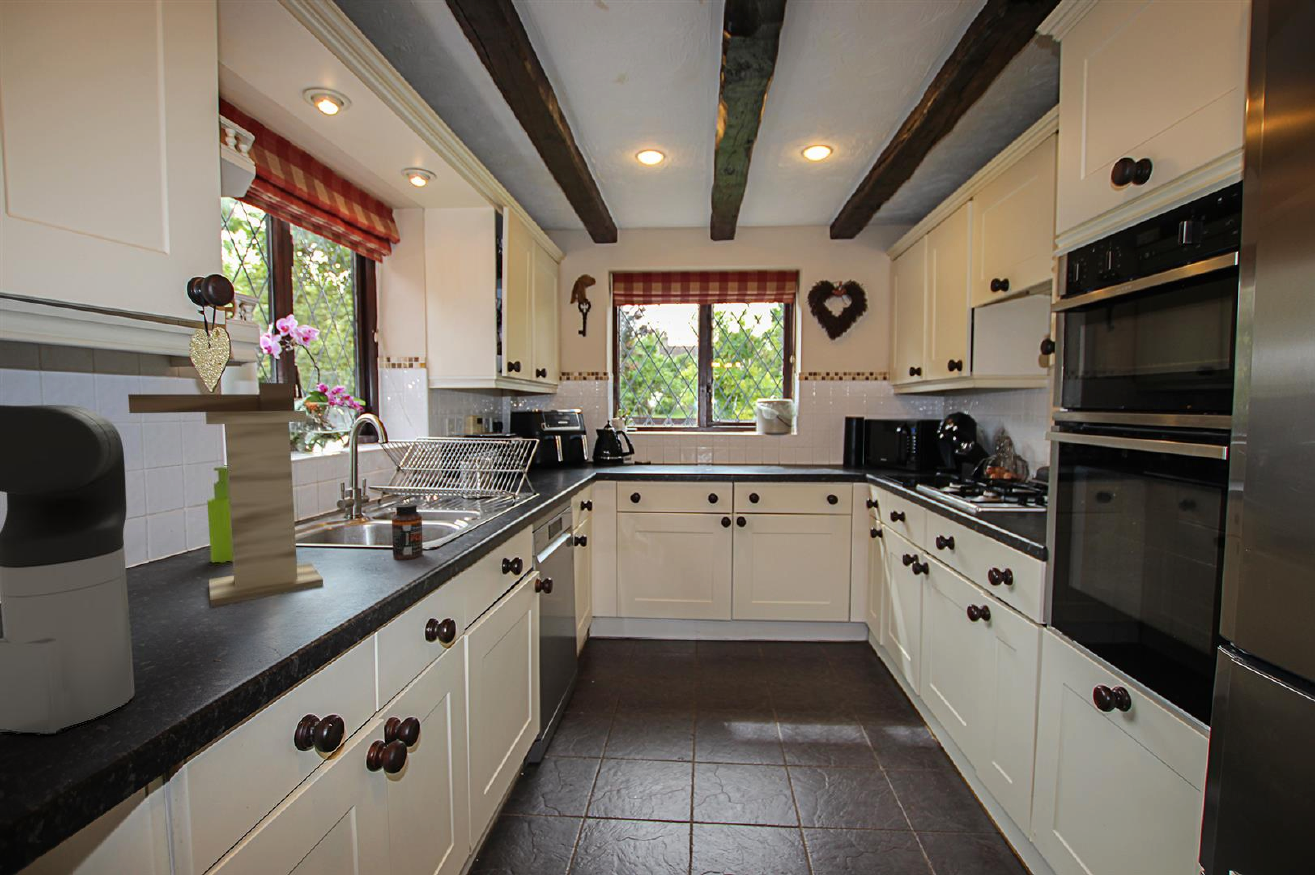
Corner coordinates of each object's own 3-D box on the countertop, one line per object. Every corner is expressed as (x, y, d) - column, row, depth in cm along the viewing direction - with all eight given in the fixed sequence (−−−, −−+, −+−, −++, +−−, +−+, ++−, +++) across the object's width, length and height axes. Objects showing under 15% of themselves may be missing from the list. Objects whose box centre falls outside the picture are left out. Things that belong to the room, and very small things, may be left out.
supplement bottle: (415, 560, 116) (413, 507, 116) (387, 560, 116) (385, 507, 116) (427, 552, 122) (425, 502, 121) (401, 552, 122) (399, 502, 122)
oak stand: (323, 585, 101) (314, 410, 99) (210, 607, 90) (198, 412, 88) (311, 568, 111) (302, 410, 109) (209, 585, 101) (198, 411, 99)
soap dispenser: (226, 564, 115) (220, 469, 113) (204, 561, 117) (198, 468, 116) (255, 556, 120) (249, 465, 119) (234, 553, 123) (228, 464, 121)
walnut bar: (294, 410, 100) (293, 383, 99) (128, 413, 87) (126, 381, 86) (293, 410, 104) (291, 384, 103) (133, 412, 91) (131, 382, 90)
